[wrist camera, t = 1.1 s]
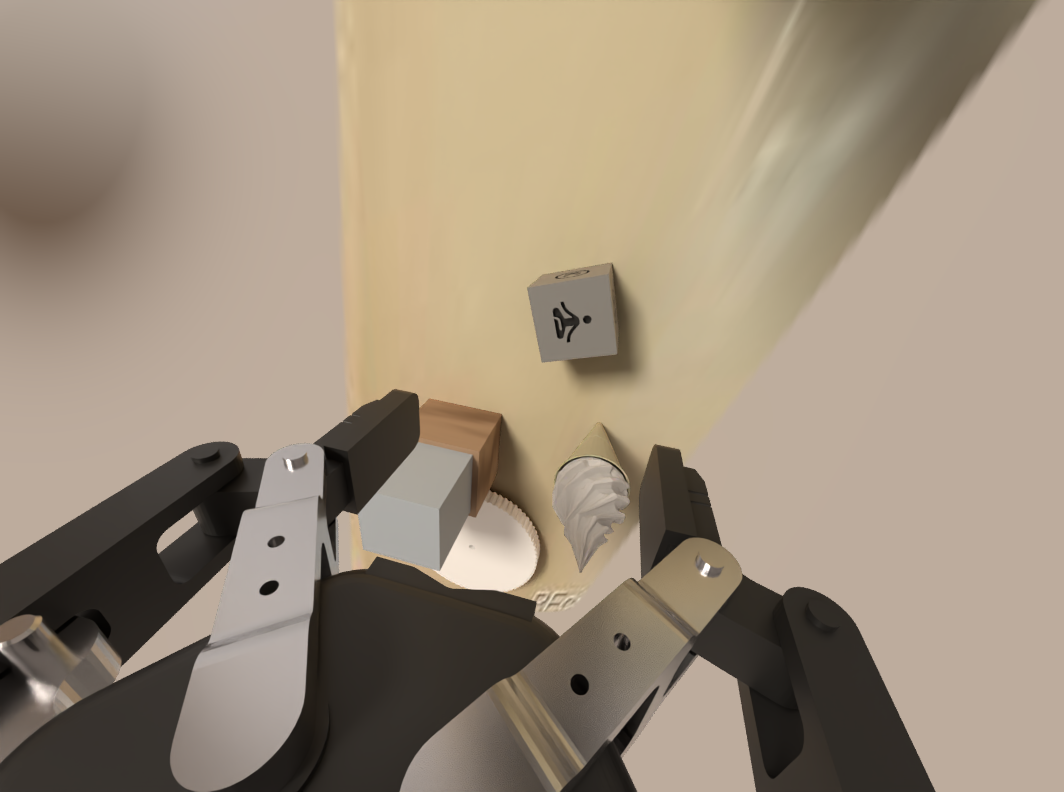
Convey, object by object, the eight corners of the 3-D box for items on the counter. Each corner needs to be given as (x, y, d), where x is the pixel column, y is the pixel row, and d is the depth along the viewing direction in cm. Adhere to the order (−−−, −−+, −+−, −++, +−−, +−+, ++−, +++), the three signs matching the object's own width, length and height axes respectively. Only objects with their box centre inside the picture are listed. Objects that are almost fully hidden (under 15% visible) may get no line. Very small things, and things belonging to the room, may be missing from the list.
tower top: (401, 438, 30) (354, 487, 25) (472, 454, 29) (439, 509, 24) (405, 494, 33) (363, 549, 28) (470, 511, 32) (439, 571, 27)
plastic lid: (428, 460, 39) (417, 475, 37) (557, 507, 38) (553, 525, 36) (415, 547, 46) (404, 564, 44) (524, 589, 45) (519, 608, 43)
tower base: (429, 398, 35) (395, 432, 30) (502, 413, 34) (479, 451, 29) (431, 458, 39) (400, 498, 33) (497, 474, 38) (475, 517, 32)
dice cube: (542, 274, 28) (527, 287, 24) (611, 262, 27) (608, 274, 22) (554, 339, 30) (541, 362, 26) (619, 331, 29) (617, 354, 24)
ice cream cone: (637, 407, 31) (644, 557, 18) (620, 456, 33) (614, 619, 20) (577, 391, 31) (541, 525, 18) (564, 440, 34) (524, 589, 21)
